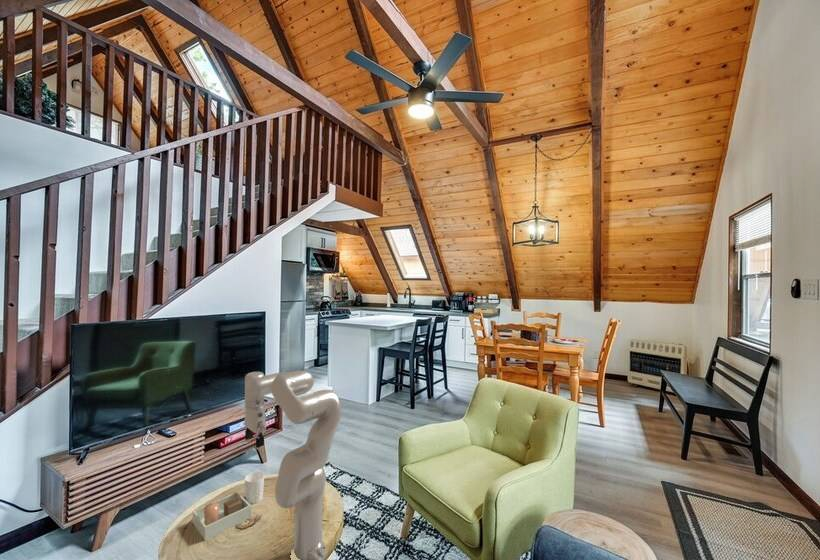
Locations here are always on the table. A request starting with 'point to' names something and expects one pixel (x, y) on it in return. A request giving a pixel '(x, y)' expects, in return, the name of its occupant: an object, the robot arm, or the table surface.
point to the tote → (221, 517)
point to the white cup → (254, 487)
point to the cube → (232, 506)
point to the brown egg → (211, 513)
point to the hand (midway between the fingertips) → (254, 442)
